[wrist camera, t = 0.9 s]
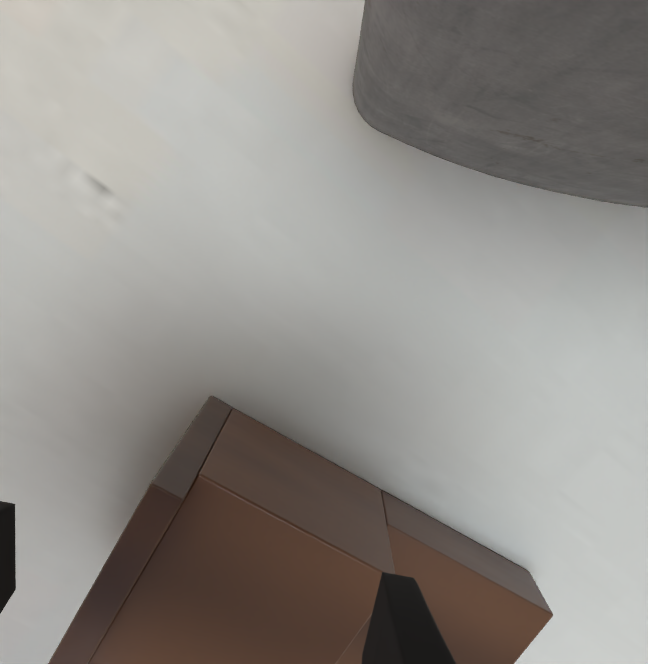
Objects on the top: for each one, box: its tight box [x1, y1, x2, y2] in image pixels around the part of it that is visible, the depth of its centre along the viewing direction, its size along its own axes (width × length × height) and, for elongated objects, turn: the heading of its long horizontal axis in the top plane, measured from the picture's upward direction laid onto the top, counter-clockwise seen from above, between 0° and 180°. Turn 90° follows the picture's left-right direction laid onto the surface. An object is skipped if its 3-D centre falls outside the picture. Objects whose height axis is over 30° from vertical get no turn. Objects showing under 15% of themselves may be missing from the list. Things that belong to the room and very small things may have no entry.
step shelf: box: [48, 396, 553, 664], centre depth 19 cm, size 8×16×7 cm, turn 59°
